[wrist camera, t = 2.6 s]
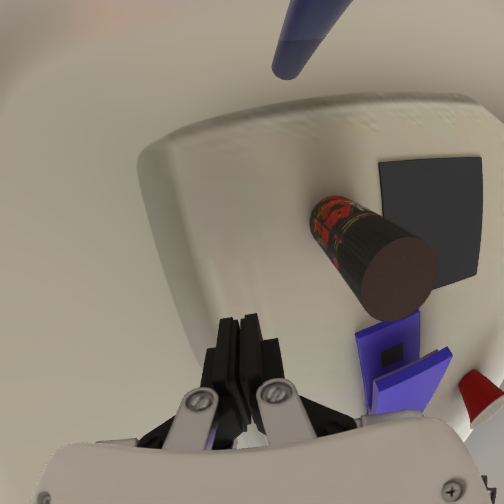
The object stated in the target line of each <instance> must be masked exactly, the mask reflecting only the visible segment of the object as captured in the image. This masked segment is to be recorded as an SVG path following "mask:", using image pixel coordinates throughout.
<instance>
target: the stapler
mask: <svg viewBox="0 0 504 504" xmlns="http://www.w3.org/2000/svg"><path fill="white" fill-rule="evenodd" d="M355 336H356V342H357V347H358V352H359V358H360V364H361V370H362V376H363V382H364V389H365V396H366V404H367V411H368V415H372V414H380V413H387V412H394V411H400V410H406V409H415V410H418V411H420V412H421V413H423V411H424V409H425V408H426V406H427V404H428V403H429V401H430V399H431V397H432V396H433V394H434V392H435V390H436V388H437V387H438V385H439V383H440V381H441V379H442V377H443V375H444V373H445V371H446V369H447V367H448V365H449V363H450V361H451V359H452V356H453V355H452V353H451V351H450V350H449V348H448V347H445V348H443V349H442V350H440V351H438V349H437V350H435V351H433V352H431V353H429V354H427V355H425V356H423V357H422V358H420V359H419V352H420V311H419V310H418V309H417V310H416V311H415V312H413V313H412V314H410V315H409V316H407V317H405V318H403V319H400V320H397V321H390V322H386V321H384V322H382V323H379V324H377V325H375V326H372V327H370V328H367V329H365V330H362V331H360V332H358V333H355Z"/></svg>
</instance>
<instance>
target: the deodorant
mask: <svg viewBox="0 0 504 504" xmlns="http://www.w3.org/2000/svg"><path fill="white" fill-rule="evenodd" d="M310 229H311V233H312V235H313V237H314V238H315V240H316V241H317V242H318V244H319V245H320V247H321V248H322V249H323V251H324V252H325V253H326V255H327V256H328V257H329V259H330V260H331V262H332V263H333V264H334V266H335V267H336V268H337V270H338V271H339V273H340V274H341V275H342V277H343V278H344V280H345V281H346V283H347V284H348V285H349V287H350V288H351V290H352V291H353V293H354V294H355V296H356V297H357V298H358V300H359V301H360V303H361V304H362V306H363V307H364V309H365V310H366V311H367V312H368V313H369V314H370V316H371V317H373V318H375V319H377V320H379V321H386V322H390V321H397V320H400V319H403V318H405V317H407V316H409V315H410V314H412V313H413V312H415V311H416V310H417V309H418V308H419V307H420V306H421V305H422V304H423V303H424V302H425V301H426V299H427V298H428V296H429V295H430V293H431V291H432V289H433V286H434V284H435V280H436V276H437V260H436V256H435V253H434V251H433V250H432V248H431V246H430V245H429V244H428V243H426V242H425V241H424V240H423V239H421V238H419V237H418V236H416V235H414V234H412V233H411V232H409V231H407V230H405V229H404V228H402V227H400V226H398V225H397V224H395V223H393V222H391V221H389V220H388V219H386V218H384V217H382V216H380V215H378V214H376V213H375V212H373V211H371V210H369V209H367V208H365V207H363V206H361V205H359V204H357V203H355V202H353V201H351V200H349V199H347V198H344V197H341V196H331V197H327V198H325V199H324V200H322V201H320V202H319V203H318V204H317V205H316V207H315V208H314V210H313V211H312V214H311V217H310Z"/></svg>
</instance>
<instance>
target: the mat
mask: <svg viewBox="0 0 504 504" xmlns="http://www.w3.org/2000/svg"><path fill="white" fill-rule="evenodd" d="M378 165H379V173H380V183H381V194H382V208H383V217H384V218H386V219H388V220H389V221H391V222H393V223H395V224H397V225H398V226H400V227H402V228H404V229H405V230H407V231H409V232H411V233H412V234H414V235H416V236H418V237H419V238H421V239H423V240H424V241H425V242H426V243H428V244H429V245H430V246H431V248H432V250H433V251H434V253H435V256H436V260H437V276H436V280H435V284H434V286H433V289H437V288H440V287H443V286H446V285H449V284H452V283H455V282H457V281H460V280H463V279H466V278H469V277H472V276H474V275H476V274H477V267H478V260H479V252H480V242H481V231H482V213H483V175H482V158H481V157H463V158H436V159H418V160H404V161H392V162H381V163H378ZM433 289H432V290H433Z"/></svg>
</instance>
